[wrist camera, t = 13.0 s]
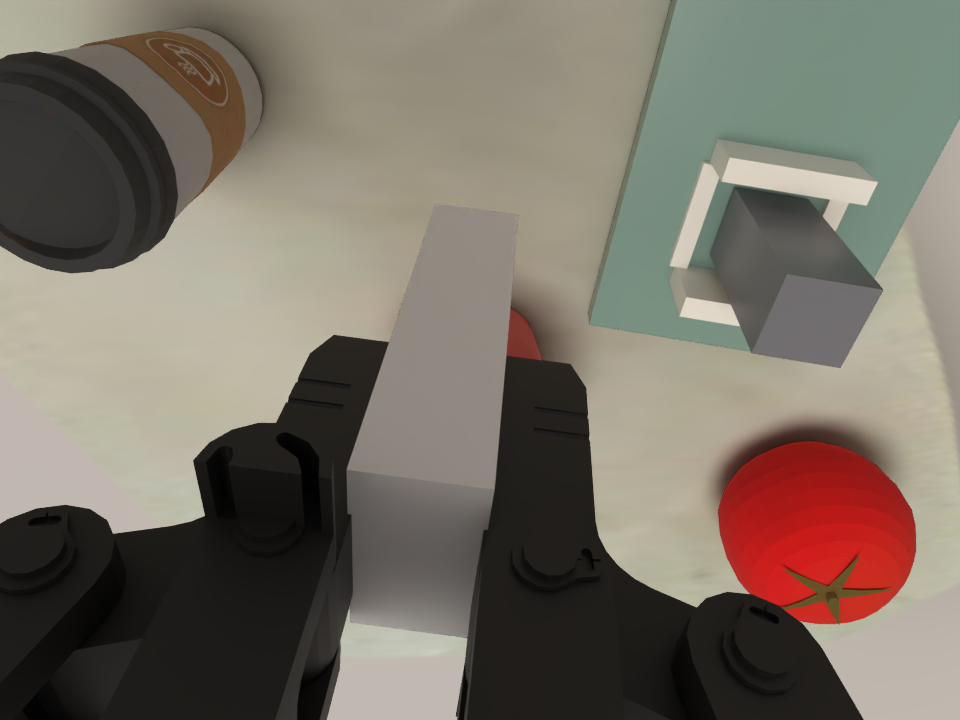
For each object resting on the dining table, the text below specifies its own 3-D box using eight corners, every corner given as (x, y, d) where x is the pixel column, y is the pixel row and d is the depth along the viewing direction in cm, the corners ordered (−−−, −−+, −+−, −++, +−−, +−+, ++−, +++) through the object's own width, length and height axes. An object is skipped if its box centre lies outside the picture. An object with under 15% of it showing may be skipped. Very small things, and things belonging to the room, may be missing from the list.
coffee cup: (313, 92, 37) (192, 192, 24) (231, 192, 40) (89, 321, 28) (183, -35, 34) (-30, 6, 21) (107, 85, 38) (-111, 178, 25)
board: (685, -51, 31) (706, -42, 27) (1001, 1, 31) (1076, 19, 27) (588, 312, 43) (591, 361, 38) (820, 350, 43) (850, 404, 38)
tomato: (712, 418, 47) (747, 535, 38) (893, 412, 45) (972, 533, 36) (702, 534, 53) (729, 656, 45) (859, 533, 52) (919, 659, 43)
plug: (734, 187, 36) (787, 273, 28) (808, 199, 36) (883, 289, 28) (706, 264, 38) (746, 364, 30) (775, 275, 38) (834, 378, 30)
